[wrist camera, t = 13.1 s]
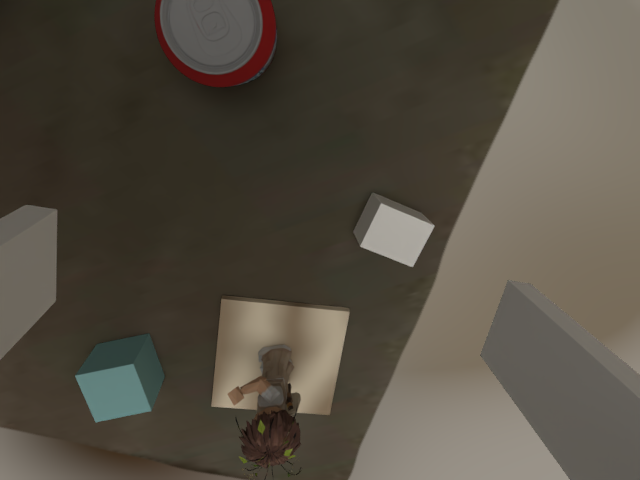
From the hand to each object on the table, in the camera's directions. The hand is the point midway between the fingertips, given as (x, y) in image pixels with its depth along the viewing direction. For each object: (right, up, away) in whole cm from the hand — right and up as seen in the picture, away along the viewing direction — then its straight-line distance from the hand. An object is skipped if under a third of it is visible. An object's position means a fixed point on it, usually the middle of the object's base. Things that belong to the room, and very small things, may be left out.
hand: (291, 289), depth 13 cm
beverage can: (-6, +17, +22) cm, 29 cm away
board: (-3, -10, +32) cm, 34 cm away
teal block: (-17, -10, +31) cm, 37 cm away
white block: (+7, +3, +28) cm, 29 cm away
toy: (-4, -10, +31) cm, 33 cm away
